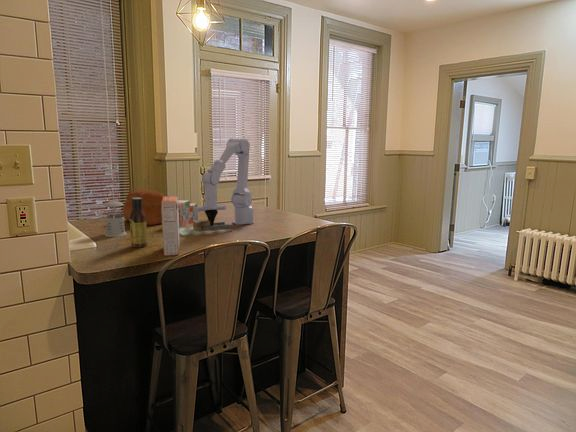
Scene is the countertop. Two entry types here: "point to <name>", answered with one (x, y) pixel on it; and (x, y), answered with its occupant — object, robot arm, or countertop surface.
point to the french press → (114, 219)
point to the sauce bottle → (138, 224)
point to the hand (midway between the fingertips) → (211, 225)
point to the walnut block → (200, 224)
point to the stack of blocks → (186, 212)
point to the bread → (145, 205)
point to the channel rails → (216, 226)
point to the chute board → (191, 231)
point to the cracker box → (170, 225)
